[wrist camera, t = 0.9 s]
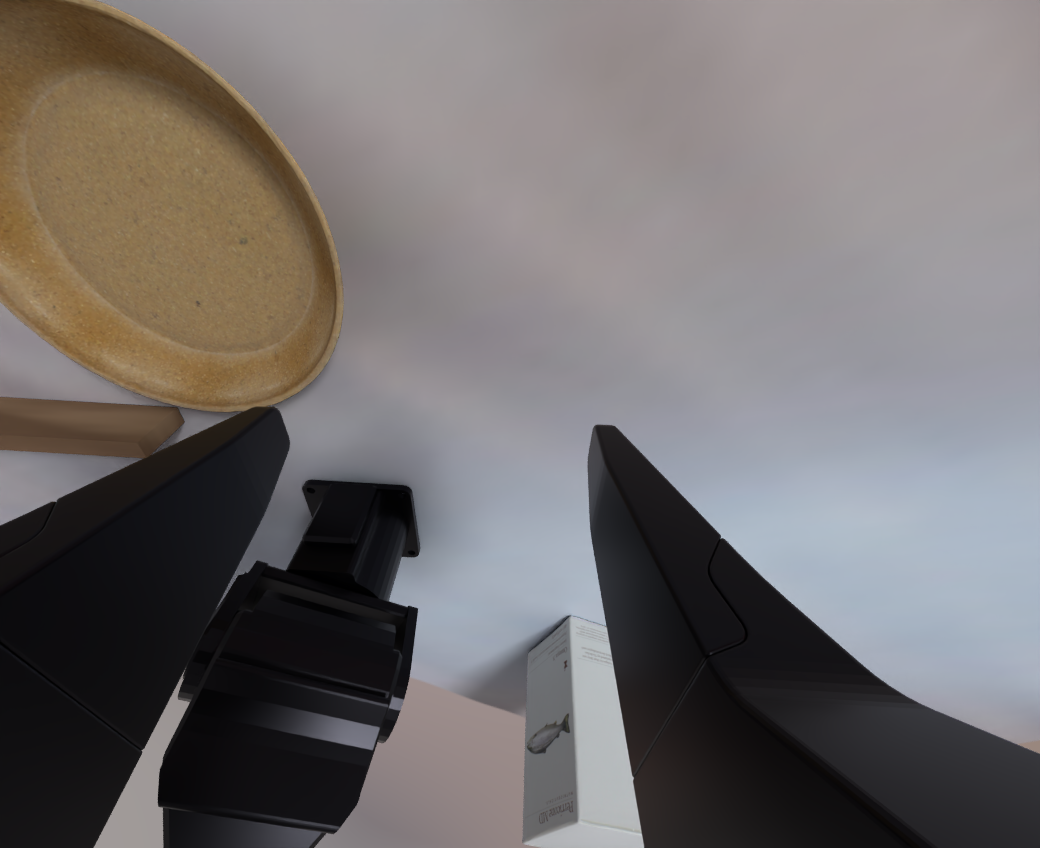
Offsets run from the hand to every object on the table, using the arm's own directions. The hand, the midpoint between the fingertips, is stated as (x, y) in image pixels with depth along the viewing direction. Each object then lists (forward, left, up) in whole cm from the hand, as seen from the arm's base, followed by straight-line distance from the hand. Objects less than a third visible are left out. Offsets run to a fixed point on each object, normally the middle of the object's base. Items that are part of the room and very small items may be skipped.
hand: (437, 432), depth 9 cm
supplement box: (-32, -8, -12) cm, 35 cm away
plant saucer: (0, +13, -12) cm, 18 cm away
